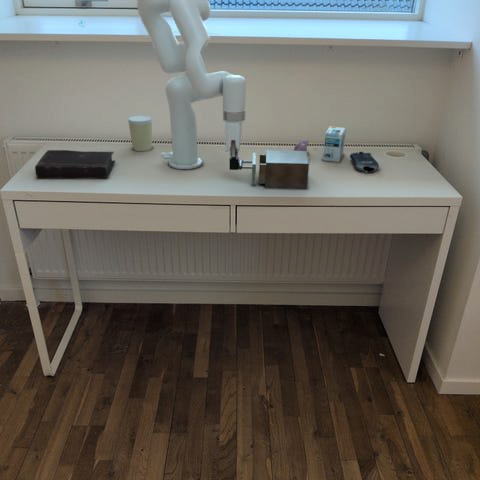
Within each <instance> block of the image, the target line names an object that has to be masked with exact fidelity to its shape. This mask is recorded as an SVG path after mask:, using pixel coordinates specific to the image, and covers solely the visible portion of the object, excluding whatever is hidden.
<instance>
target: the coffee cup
mask: <svg viewBox="0 0 480 480" xmlns="http://www.w3.org/2000/svg"><path fill="white" fill-rule="evenodd" d="M127 122H128V127H129V131H130V132H129V133H130V140H131V143H132V144H131V145H132V149H133V150H134V151H137V152H148V151H151V150H152V148H153V129H152V127H153V126H152V124H153V123H152V122H153V120H152V118H151V116H148V115H133V116H130V117H129V118H128V120H127Z"/></svg>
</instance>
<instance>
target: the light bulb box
mask: <svg viewBox="0 0 480 480" xmlns="http://www.w3.org/2000/svg"><path fill="white" fill-rule="evenodd" d="M346 131H347V128H346V127H341V126H340V127H338V126H332V125H330V126H329V127H328V129H327V130H326V131H325V135H324V144H323V145H324V146H323V154H322V155H323V156H322V161H325V162H334V163H340V161H341V159H342V158H343V156H344V147H345V139H346Z"/></svg>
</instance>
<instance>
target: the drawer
mask: <svg viewBox="0 0 480 480" xmlns="http://www.w3.org/2000/svg"><path fill="white" fill-rule="evenodd" d="M258 163H259V166H258V167H259V168H258V184H262V185H263V184H264V185H265V178H266V153H262V154H261V153H260V154H259V162H258ZM243 164H251V166H245V165H244V166H243ZM244 169H247V170H248V169H249V170H251V186H256V178H257V177H256V173H257V152H252V160H243V159H240V158H239V166H238V171H241V170H244Z"/></svg>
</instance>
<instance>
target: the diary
mask: <svg viewBox="0 0 480 480" xmlns="http://www.w3.org/2000/svg"><path fill="white" fill-rule="evenodd" d="M114 153H115V151H79V150H69V149H68V150H67V149H48V150H46V152H45V153H44V154H43V155H42V156H41V158H40V159H39V160H38V162H37V163H36V164H35V166H34V171H35V176H36V178H37V179H108V178H109V176H110V175H111V172H112V170H113V168H114V165H115V163H116V160H115V159H113V154H114Z"/></svg>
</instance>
